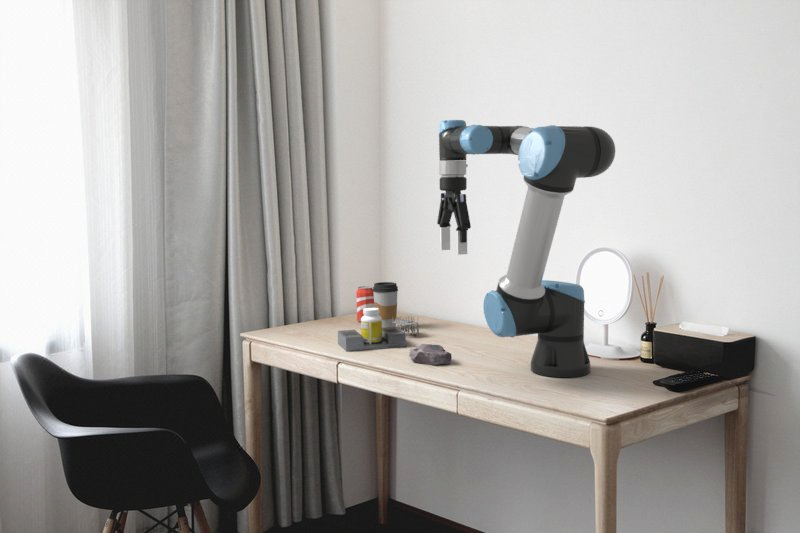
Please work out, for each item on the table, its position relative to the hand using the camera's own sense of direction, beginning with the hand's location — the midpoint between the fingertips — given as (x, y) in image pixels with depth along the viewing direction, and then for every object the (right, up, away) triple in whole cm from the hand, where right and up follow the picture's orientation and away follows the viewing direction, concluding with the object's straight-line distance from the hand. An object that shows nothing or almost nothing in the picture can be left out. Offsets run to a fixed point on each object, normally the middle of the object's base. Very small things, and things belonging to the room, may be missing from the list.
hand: (453, 252), depth 234 cm
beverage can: (-27, -23, +52) cm, 63 cm away
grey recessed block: (-24, -28, +14) cm, 39 cm away
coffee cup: (-20, -25, +39) cm, 50 cm away
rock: (-7, -30, -8) cm, 32 cm away
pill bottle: (-24, -28, +14) cm, 39 cm away
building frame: (-13, -26, +27) cm, 40 cm away
